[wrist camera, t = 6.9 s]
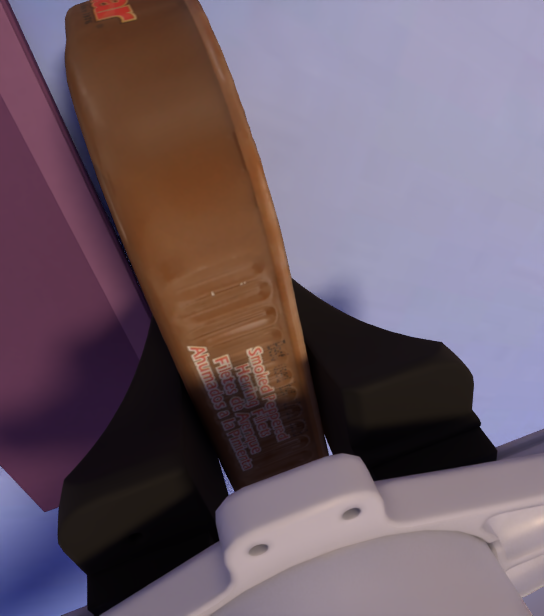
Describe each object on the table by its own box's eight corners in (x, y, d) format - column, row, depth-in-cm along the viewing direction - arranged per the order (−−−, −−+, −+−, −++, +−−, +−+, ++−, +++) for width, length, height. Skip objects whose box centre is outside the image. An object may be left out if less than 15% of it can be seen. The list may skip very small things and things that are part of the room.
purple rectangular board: (44, 504, 24) (44, 514, 23) (-405, 23, 11) (-424, 27, 11) (212, 443, 24) (214, 451, 24) (-27, -75, 12) (-31, -75, 11)
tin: (270, 366, 22) (367, 539, 16) (202, 395, 22) (274, 585, 16) (153, -44, 13) (277, -18, 7) (27, -9, 12) (28, 55, 6)
